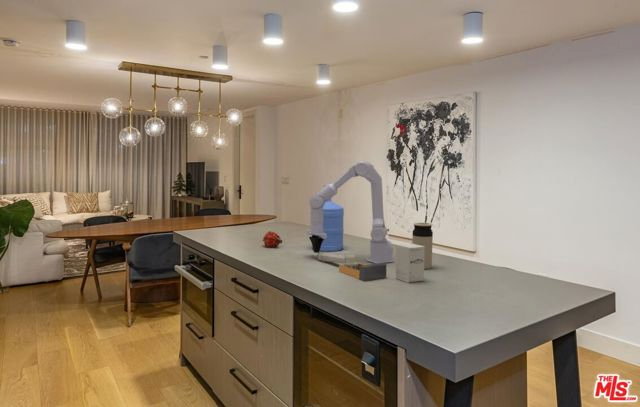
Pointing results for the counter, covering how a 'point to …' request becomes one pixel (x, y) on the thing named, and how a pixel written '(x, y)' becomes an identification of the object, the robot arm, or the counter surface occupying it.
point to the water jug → (332, 227)
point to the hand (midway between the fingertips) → (316, 252)
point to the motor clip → (366, 271)
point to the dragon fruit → (272, 239)
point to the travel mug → (424, 241)
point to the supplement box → (410, 262)
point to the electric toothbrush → (338, 259)
